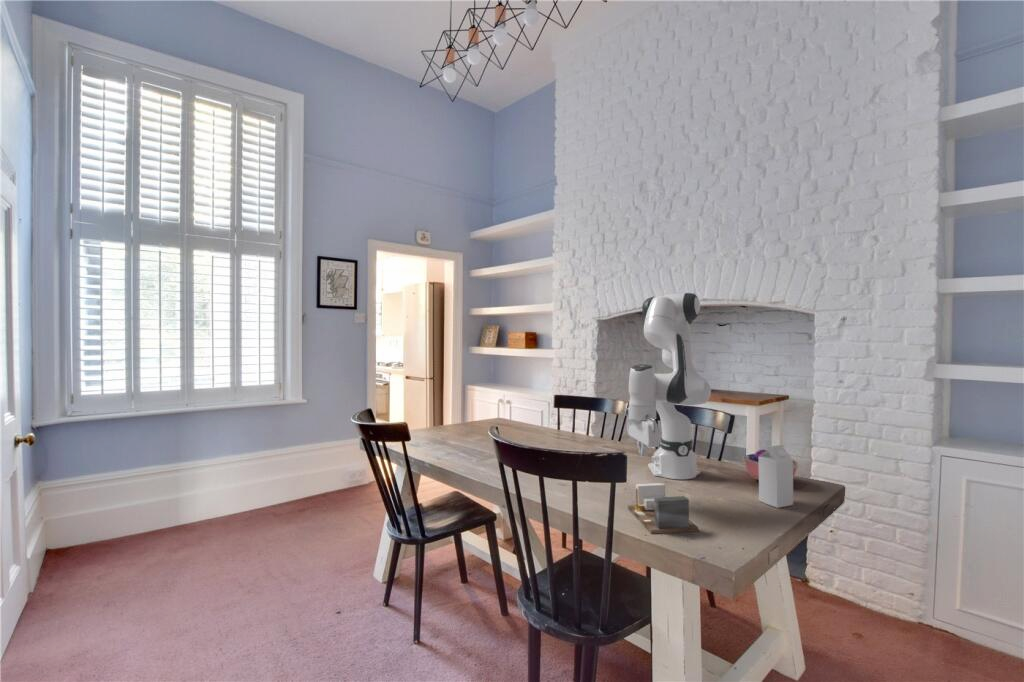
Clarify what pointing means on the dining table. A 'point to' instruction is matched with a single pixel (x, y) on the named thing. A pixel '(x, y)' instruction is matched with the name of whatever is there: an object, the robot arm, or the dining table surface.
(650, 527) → the gauge base
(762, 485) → the milk carton
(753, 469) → the cell model
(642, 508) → the peak needle
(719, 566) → the dining table surface
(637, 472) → the dining table surface
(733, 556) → the dining table surface
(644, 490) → the white bent piece
